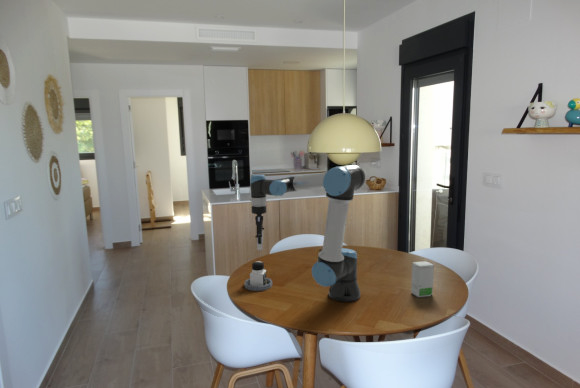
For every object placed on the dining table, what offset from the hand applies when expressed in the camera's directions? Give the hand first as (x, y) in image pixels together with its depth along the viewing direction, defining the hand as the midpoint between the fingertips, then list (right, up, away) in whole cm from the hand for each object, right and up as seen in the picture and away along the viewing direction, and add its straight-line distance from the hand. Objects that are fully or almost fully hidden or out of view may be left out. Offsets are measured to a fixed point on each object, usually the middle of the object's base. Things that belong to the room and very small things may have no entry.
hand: (260, 246), depth 207 cm
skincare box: (+79, -22, -12) cm, 83 cm away
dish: (-1, -21, +3) cm, 21 cm away
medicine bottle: (-1, -21, +2) cm, 21 cm away
